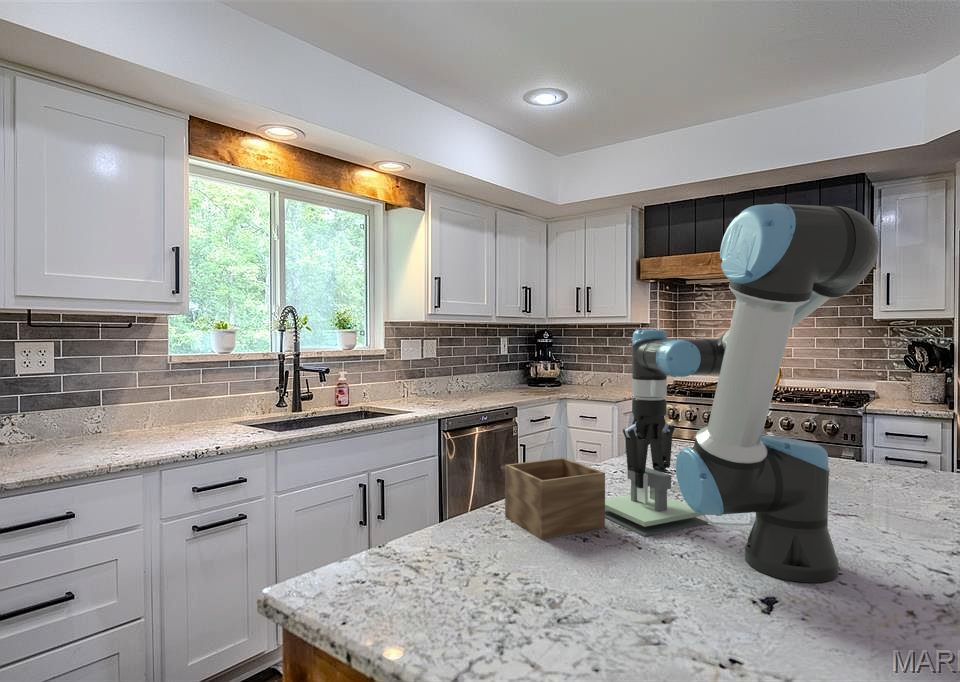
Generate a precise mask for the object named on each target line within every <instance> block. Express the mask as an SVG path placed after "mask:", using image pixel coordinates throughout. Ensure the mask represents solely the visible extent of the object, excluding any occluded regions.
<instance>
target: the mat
mask: <svg viewBox="0 0 960 682" xmlns="http://www.w3.org/2000/svg"><path fill="white" fill-rule="evenodd" d="M605 520H607V521H611V522H613V523H615V524H617V525H619V526H621V527H622V528H625V529H627V530H629V531H631V532H634V533H635V534H638V535H640V536H641V537H645V538H646V537H651V536H657V535H660V534H666V533H669V532H675V531H681V530H685V529H691V528H695V527H700V526H706V525H709V521H706V520H704V519H703V518H702V519H701V518H699V517H693V518H688V519H682V520H677V521H672V522H667V523H662V524H656V525H651V526H646V527H644V526H642V525H640V524H637V523H635V522H633V521H631V520H629V519H626V518H624V517H622V516H620V515H617V514H615V513H613V512H611V511H609V510H606V509H605Z"/></svg>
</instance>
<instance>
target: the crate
mask: <svg viewBox="0 0 960 682" xmlns="http://www.w3.org/2000/svg"><path fill="white" fill-rule="evenodd" d="M605 499H606V472H604V471H601V470H599V469H597V468H596V469H595V468H593V467H590V466H588V465H585V464H581V463H579V462H576V461H575V460H571V459H568V458H565V457H560V458H558V457H557V458H552V459H550V458H549V459H544V460H543V459H542V460H535V461H527V462H519V463H518V462H517V463H510V464H509V463H508V464H504V517H505V518H506V519H508V520H510V521H511V522H513V523H514V524H516V525H517V526H520V527H521V528H523V529H524V530H525V531H527V532H529V533H530V534H532V535H534V536H535V537H537V538H538V539H540V540H548V539H553V538H558V537H563V536H568V535H573V534H579V533H580V534H581V533H584V532H591V531H595V530H600V529H605V528H606V518H605Z"/></svg>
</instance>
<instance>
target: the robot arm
mask: <svg viewBox="0 0 960 682" xmlns="http://www.w3.org/2000/svg"><path fill="white" fill-rule="evenodd" d="M879 244H880V243H879V237H878V234H877V231H876V228H875V227H874V225H873V224H872V222H871V221H870V220H869V218H867V217H866V216H865V215H864V214H862V213H861V212H859V211H856V210H854V209H853V208H849V207H845V206H840V205H839V206H837V205H828V206H826V205H805V204H789V203H786V204H785V203H772V204H757V205H752V206H749V207H747V208H745V209H744V210H742V211H740V213H739V214H738V215H736V216H735V217H734V219H732V221H731V222H730V223H729V225H728V227H727V228H726V230H725V233H724V235H723V238H722V240H721V244H720V250H719V259H720V260H721V263H720V268H721V270H722V273H723V275H724V276H725V277H726V278H727V279H728V280H730V281H729V285H728V288H729V290H730V291H731V292H732V294H733V295H734V296H735V299H736V301H735V306H734V309H733V313H732V314H733V315H732V317H731V322H730V325H729V326H730V327H729V329H728V330H727V331H726V332H725V333H724V334H722V335H721V336H720V337H719V338H710V339H709V338H708V339H706V338H705V339H704V338H703V339H699V338H698V339H695V338H694V339H693V338H692V339H691V338H690V339H681V338H680V339H679V338H678V339H676V338H675V339H674V338H673V339H668V335H667V334H668V333H667V332H666V331H665V330H664V329H637V330H635V331H633V333H632V344H631V357H632V358H631V360H632V361H631V362H632V363H631V364H632V365H631V367H632V371H631V372H632V379H631V384H632V386H631V391H632V392H631V395H632V397H634V398H632V400H631V412H632V415H633V420H632V423H631V425H630V426H628V427H623V428H622V433H623V437H625V450H626V451H625V452H626V468H627V471H628V470H630V471H633V472H634V473H635V486H636V487H637V501H640V502H642V503H645V504H646V503H648V492H650V499H653V500H655V488H652V487H650V486H648V474H645V468H646V467H647V465H646V464H647V459H648V450H649V447H650V454H651V455H650V456H651V462H652V464H651V465H652V469H653V470H656V471H659V472H663V473H666V472H667V469H670V467H671V457H672V446H673V445H672V443H673V434H674V431H675V429H676V426H675V425H674V424H669V423H668V422H666V419H665V416H666V415H667V413H668V411H667V404H668V402H667V400H666V399H665V398H666V397H667V396H668V392H667V390H668V389H667V388H668V387H667V386H668V385H667V384H668V383H667V380H668V379H667V378H668V377H667V376H670V377H673V378H677V377H679V378H686V377H688V376H700V375H701V376H705V375H718V380H717V385H716V389H715V393H714V398H713V401H712V406H711V412H710V414H709V415H710V416H709V420H708V425H707V426H705V427H702V428H700V429H699V430H698V431H697V433H696V435H695V440H694V443H693V444H694V445H693V447H689V446H688V447H685V448H683V449H682V450H680V451H679V452H678V453H677V456H676V459H675V475H676V480H677V485H678V487H679V490H680V493H681V495H682V497H683V500H684V501H685V504H688V505H689V507H690V508H691V509H692V510H693V511H695V512H696V513H698V514H702V515H703V516H718V517H721V516H723V515H733V514H749V513H755V520H754V522H753V525H752V527H751V530H750V533H749V536H748V539H747V541H746V543H745V547H744V560H745V562H746V563H747V564H748V565H749V566H750V567H751V568H753V570H754V569H755V570H757V571H758V572H760V573H763V574H765V575H768V576H771V577H774V578H777V579H778V578H779V579H781V580H785V581H786V580H787V581H791V582H797V583H798V582H800V583H813V584H814V583H825V582H830V581H832V580H834V579H836V578H837V577H838V576H839V564H840V563H839V559H838V557H837V555H836V554H837V553H836V551H835V548H834V544H833V540H832V538H831V535H830V532H829V528H828V527H829V526H828V525H829V521H828V520H829V519H828V518H829V517H828V514H829V483H830V482H829V481H830V480H829V478H830V476H829V475H830V474H829V473H830V471H831V470H830V468H829V455H828V452H827V450H826V449H825V448H824V447H823V446H821V445H819V444H816V443H814V442H810V441H805V440H800V439H795V438H790V437H783V436H778V435H777V436H776V435H769V434H768V435H765V434H763V433H764V428H765V425H766V421H767V417H768V414H769V410H770V407H771V403H772V400H773V399H772V398H773V395H774V392H775V388H776V384H777V381H778V376H779V373H780V370H781V369H780V368H781V366H782V361H783V358H784V354H785V350H786V346H787V343H788V339H789V335H790V332H791V330H792V329H793V328H795V327H796V325H798V324H799V323H800V322H801V321H803V320H804V319H805V318H807V317H808V316H809V315H811V314H813V312H814V311H816V310H817V309H818V308H819V307H821V306H823V304H825V303H826V302H827V301H829V300H831V299H839V298H841V297H844V296H845V295H847V294H848V293H849V292H850V291H852V290H853V289H855V288H856V287H857V286H858V285H859V284H861V282H862V281H864V280H865V279H866V277H867V276H868V275H869V274H870V272H871V271H872V270H873V268H874V266H875V263H876V261H877V259H878V255H879V246H880V245H879ZM639 467H640V468H639Z"/></svg>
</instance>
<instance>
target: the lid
mask: <svg viewBox="0 0 960 682" xmlns="http://www.w3.org/2000/svg"><path fill="white" fill-rule="evenodd" d="M639 468H640V467H639ZM645 474H648V487H649V488H650V487H652V488H655V500H653V499H650V491H648V503H646V504H645V503H642V502H640V501H637V487H636V486H635V473H634V472H633V471H630V470H628V469H627V479H628V480H630V494H626V495H621V496H613V497H607V498H606V497H605V509H606V510H609V511H611V512H613V513H615V514H617V515H620V516H622V517H624V518H626V519H629V520H631V521H633V522H635V523H637V524H640V525H642V526H644V527H646V526H651V525H656V524H662V523H667V522H672V521H677V520H682V519H688V518H693V517H696V518H699V517H702V516H704V515H702V514H698V513H696V512H695V511H693V510H692V509H691V508H690V507H689V505H688V504H687V503H686V502H682V501H680V500H676V499H673V498H672V497H669V496H668V490H671V489H672V475H671V474H668V473H666V472H659V471H656V470H654V469H653V468H650V467H647V466H646V468H645Z"/></svg>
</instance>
